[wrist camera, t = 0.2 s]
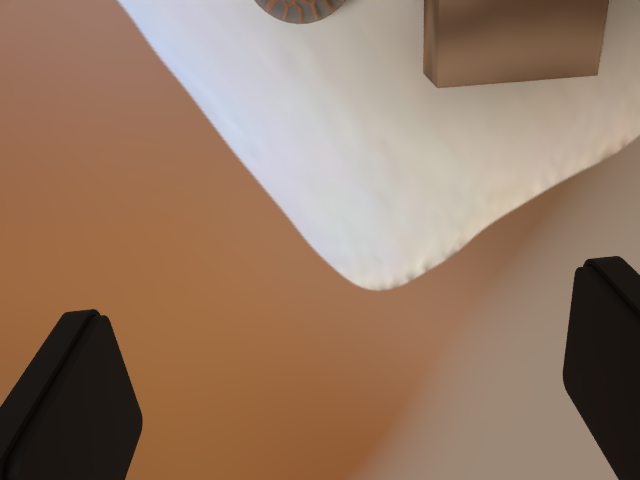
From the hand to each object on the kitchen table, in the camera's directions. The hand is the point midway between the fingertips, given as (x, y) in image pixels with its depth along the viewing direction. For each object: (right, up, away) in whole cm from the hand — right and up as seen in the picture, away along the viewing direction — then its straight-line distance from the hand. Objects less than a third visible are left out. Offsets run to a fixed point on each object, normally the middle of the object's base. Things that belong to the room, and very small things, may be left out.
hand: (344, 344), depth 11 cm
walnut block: (+11, +19, +26) cm, 34 cm away
